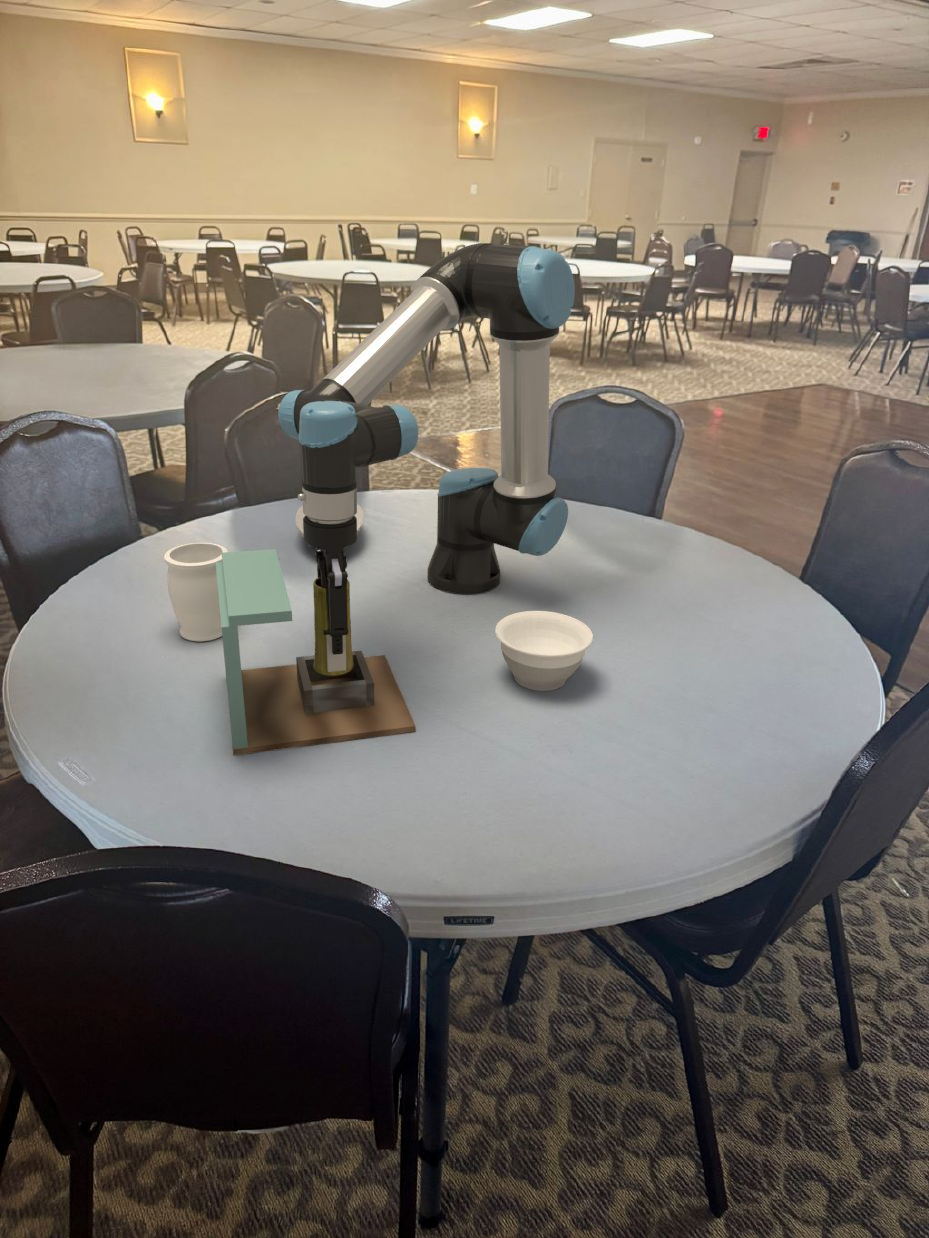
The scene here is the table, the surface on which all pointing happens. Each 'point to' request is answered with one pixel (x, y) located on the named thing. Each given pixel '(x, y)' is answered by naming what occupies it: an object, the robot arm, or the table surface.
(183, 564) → the jar
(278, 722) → the socket board
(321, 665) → the vase
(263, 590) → the green l-shaped post
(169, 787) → the table surface
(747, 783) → the table surface
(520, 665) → the bowl
